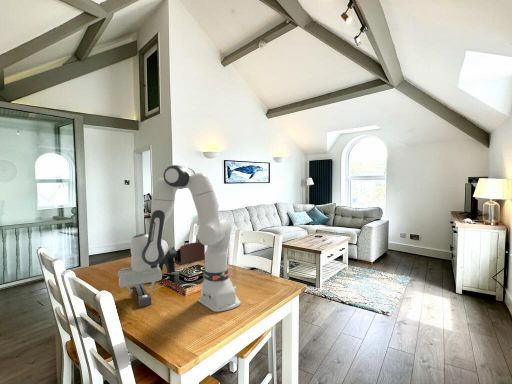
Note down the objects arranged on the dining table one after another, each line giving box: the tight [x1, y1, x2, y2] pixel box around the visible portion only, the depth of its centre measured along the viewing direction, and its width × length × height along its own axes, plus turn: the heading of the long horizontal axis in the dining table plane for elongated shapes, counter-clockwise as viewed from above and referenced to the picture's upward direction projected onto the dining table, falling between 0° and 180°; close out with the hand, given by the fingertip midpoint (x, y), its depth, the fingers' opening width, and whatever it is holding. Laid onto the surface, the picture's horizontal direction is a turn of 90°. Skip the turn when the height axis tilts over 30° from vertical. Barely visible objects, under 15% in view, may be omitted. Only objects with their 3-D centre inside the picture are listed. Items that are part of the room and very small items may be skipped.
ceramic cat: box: [159, 241, 177, 273], centre depth 168 cm, size 20×6×20 cm, turn 46°
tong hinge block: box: [137, 293, 152, 308], centre depth 125 cm, size 4×5×4 cm
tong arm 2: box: [139, 284, 148, 295], centre depth 138 cm, size 22×1×3 cm, turn 31°
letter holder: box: [174, 241, 206, 266], centre depth 193 cm, size 10×20×14 cm, turn 134°
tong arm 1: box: [134, 284, 143, 296], centre depth 136 cm, size 22×1×3 cm, turn 31°
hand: (141, 291), depth 135 cm, fingers open, 8 cm apart
